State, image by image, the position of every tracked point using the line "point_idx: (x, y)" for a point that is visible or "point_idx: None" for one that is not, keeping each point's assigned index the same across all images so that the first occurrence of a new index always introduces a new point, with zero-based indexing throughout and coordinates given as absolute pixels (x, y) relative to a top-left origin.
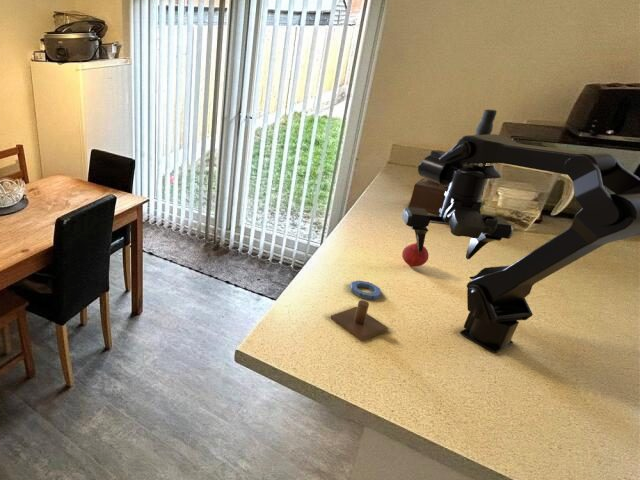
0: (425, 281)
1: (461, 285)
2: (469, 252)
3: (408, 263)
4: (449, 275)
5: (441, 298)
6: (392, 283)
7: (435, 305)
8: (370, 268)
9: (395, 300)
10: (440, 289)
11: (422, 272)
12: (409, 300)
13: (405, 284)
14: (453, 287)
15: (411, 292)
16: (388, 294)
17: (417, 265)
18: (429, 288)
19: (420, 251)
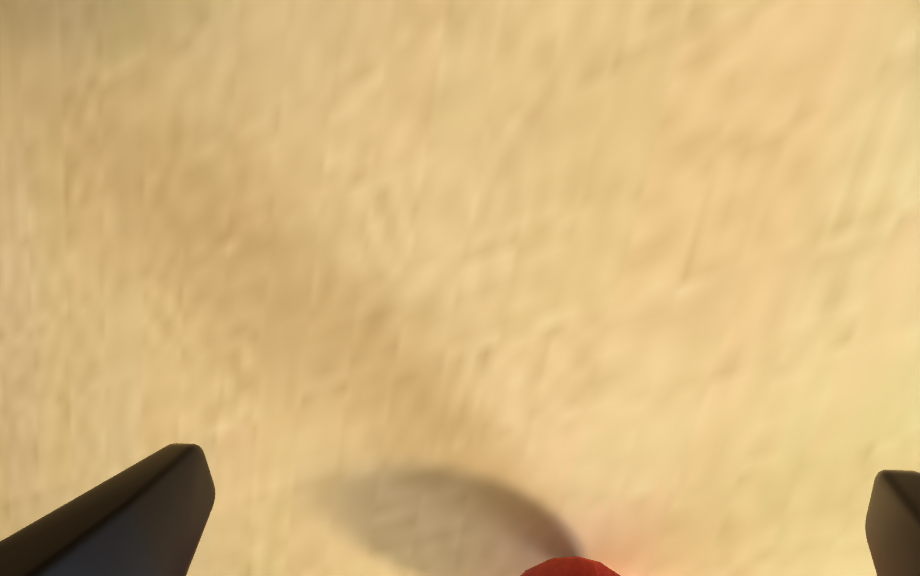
0: (523, 414)
1: (309, 430)
2: (134, 541)
3: (615, 573)
4: (362, 522)
5: (456, 218)
6: (789, 311)
7: (520, 88)
8: None
9: (860, 23)
10: (442, 341)
11: (519, 516)
12: (721, 80)
13: (682, 330)
14: (358, 393)
15: (667, 224)
16: (893, 111)
17: (559, 559)
18: (514, 330)
19: (907, 479)
